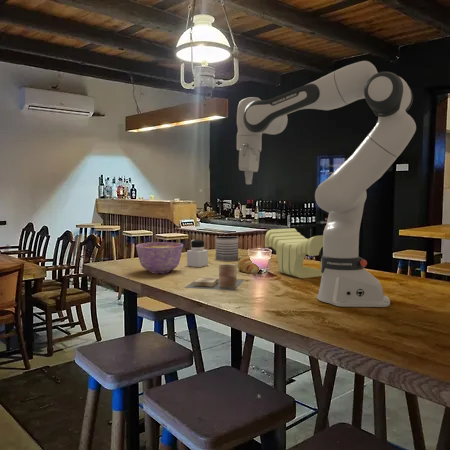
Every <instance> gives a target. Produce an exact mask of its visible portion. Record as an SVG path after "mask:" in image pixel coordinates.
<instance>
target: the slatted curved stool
mask: <svg viewBox="0 0 450 450" xmlns="http://www.w3.org/2000/svg"><path fill="white" fill-rule="evenodd" d="M264 248H272V249H273V250H274V251H275V253H276V254H275V255H276V260H277V269H278V272H279V273H280V274H284V275H288V276H291V277H292V276H293V277H295V278H300V279H306V278H308V279H309V278H314V277H315V278H317V277H322V272H321V269H319V268H315V267H311V266H303V263H304V260H305V258H306V256H307V255H308V256H309V257H313V256H319V255H320V251H321V249H323V234H321V235H314V236H312V237H310V238H306V237H305V236H304V235H302V234H301V232H298V230H297V229H296V228H273V229H269V230H267V232H266V233H265V236H264Z"/></svg>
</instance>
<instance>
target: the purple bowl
mask: <svg viewBox="0 0 450 450" xmlns="http://www.w3.org/2000/svg"><path fill="white" fill-rule="evenodd" d="M135 248H136V252H137V256H138V260H139V263H140V265H141V267H142V268H143V269H144V270H146V271H148V272H150V273H151V272H152V274H157V273H161V274H167V273H170V272H171V271H173V270H175V269H176V268H177V267H178V266H179V265H180V261H181V257H182V252H183V248H184V244H183V243H180V242H171V241H170V242H169V241H168V242H167V241H166V242H165V241H163V242H161V241H160V242H157V241H156V242H145V243H138V244H136V245H135Z"/></svg>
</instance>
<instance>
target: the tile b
mask: <svg viewBox="0 0 450 450" xmlns="http://www.w3.org/2000/svg"><path fill="white" fill-rule="evenodd" d="M237 264H238V263H237ZM237 264H233V263H230V264H229V263H219V264H218V279H219V287H233V288H236V280H237V271H238V270H237V269H238V266H237ZM236 289H237V288H236Z"/></svg>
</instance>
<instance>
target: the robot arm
mask: <svg viewBox="0 0 450 450" xmlns="http://www.w3.org/2000/svg"><path fill="white" fill-rule="evenodd" d="M363 99H365V101H366V104H368V106H369V107H370V109H371V110H372V111H373V113H374V115H375V116H376V117H378V118H377V121H376V124H375V126H374V127H373V128H371V129H372V130H370V132H369V133H368V134H367V135H366V137H365V138H364V139H363V141H362V142H361V143H360V144H359V145H358V146H357V148H356V149H355V151H354V152H353V153H352V154H351V155H350V156H349V157H348V158H346V160H345V161H344V162H343V163H341V165H340V166H338V168H336V169H335V170H334V171H333V172H332V173H331V174H330V175H329V176H328V177H327V178H326V179H325V180H323V181H322V182H321V183H320V184H319V185H318V186H317V188H316V189H315V192H314V200H315V202H316V205H317V206H318V207H319V208H320V209H321V210H323V211H324V212H327V213H328V216H327V221H326V225H325V227H324V230H323V234H322V235H323V247H322V255H321V257H320V270H321V272H322V276H320V277H321V278H320V284H319V290H318V294H317V296H316V299H317V300H318V301H320V302H323V303H327V304H331V305H333V306H336V307H345V308H346V307H354V308H356V307H357V308H358V307H359V308H363V307H364V308H365V307H367V308H368V307H369V308H370V307H371V308H373V307H374V308H386V307H389V306H391V299H390V298H389V297H388V296H387V295H385V294H384V290H383V289H384V288H383V285H382V283H381V281H380V280H379V279H378V278H376V277H375V276H374V275H373V274H371V273H370V272H369V271H368V270H367V269H366V268H365V267H366V266H367V265H368V261H367V260H366V259H364V258H363V257H360V256H359V252H360V251H359V250H360V249H359V245H360V244H359V243H360V242H359V241H360V230H361V229H360V228H361V223H362V218H363V213H364V207H365V203H366V200H367V189H369V188H370V187H371V186H372V185H373V184H375V182H377V181H378V180H379V179H381V178H382V177H383V176H384V174H385V173H386V172H387V171H388V169H389V168H390V167H391V166H392V165H393V164H394V162H395V161H396V160H397V158H398V157H399V156H401V154H402V153H403V152H404V150H405V149H406V147H407V146H408V145H409V143H410V141H411V140H412V138H413V137H414V135H415V133H416V131H417V125H416V122H415V119H414V118H413V117H412V116H411V115H410V114H408V112H407V111H409V110H410V108H411V106H412V104H413V102H414V94H413V90H412V88H411V87H410V86H409V85H408V83H407V81H405V80H404V79H403V78H402V77H401V76H399V75H398V74H396V73H394V72H392V71H379V72H378V70H377V68H376V66H375V64H373V63H372V62H370V61H368V60H361V61H357V62H354V63H351V64H347V65H345V66H342V67H341V68H339V69H338V68H337V69H336V70H334V71H331V72H330V73H328V74H326V75H324V76H321V77H320V78H318V79H316V80H314V81H311V82H309V83H307V84H304V85H303V86H300V87H297V88H294V89H292V90H289V91H287V92H285V93H282V94H280V95H277V96H275V97H272V98H270V99H265V100H264V99H263V100H262V99H260V98H259V97H257V96H252V97H251V96H250V97H246V98H243V99H241V100H240V101H239V103H238V105H237V109H236V111H237V112H236V126H237V133H236V150H237V151H239V152H238V170H239V171H243V172H244V177H245V184H246V185H252V184H253V178H254V177H253V176H254V173H258V171H259V168H260V167H259V166H260V157H261V156H260V155H261V154H260V153H261V152H262V144H263V143H262V142H263V141H262V136H263V134H267V135H274V136H275V135H278V134H282V133H283V132H284V130H285V129H286V128H287V126H288V123H289V116H288V115H290V114H291V113H294V112H297V111H300V110H307V109H309V110H310V109H311V110H319V111H321V110H322V111H331V110H334V109H339V108H342V107H345V106H347V105H349V104H352V103H354V102H356V101H359V100H363Z"/></svg>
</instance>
